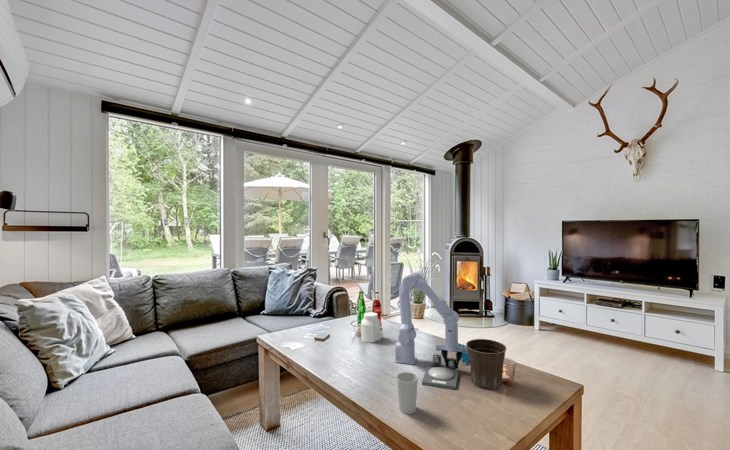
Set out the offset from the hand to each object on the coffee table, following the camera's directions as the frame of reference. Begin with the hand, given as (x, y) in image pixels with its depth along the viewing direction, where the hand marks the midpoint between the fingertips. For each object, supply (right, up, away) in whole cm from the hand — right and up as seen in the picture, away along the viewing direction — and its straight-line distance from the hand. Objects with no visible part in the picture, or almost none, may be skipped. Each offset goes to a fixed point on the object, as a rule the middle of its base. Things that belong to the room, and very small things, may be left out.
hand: (451, 367), depth 155 cm
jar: (-37, -2, +42) cm, 56 cm away
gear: (+9, -2, +10) cm, 13 cm away
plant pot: (+11, -2, -13) cm, 17 cm away
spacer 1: (-6, -2, +4) cm, 7 cm away
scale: (-7, -2, -8) cm, 11 cm away
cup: (-25, -2, -32) cm, 40 cm away
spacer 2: (0, -1, 0) cm, 1 cm away
